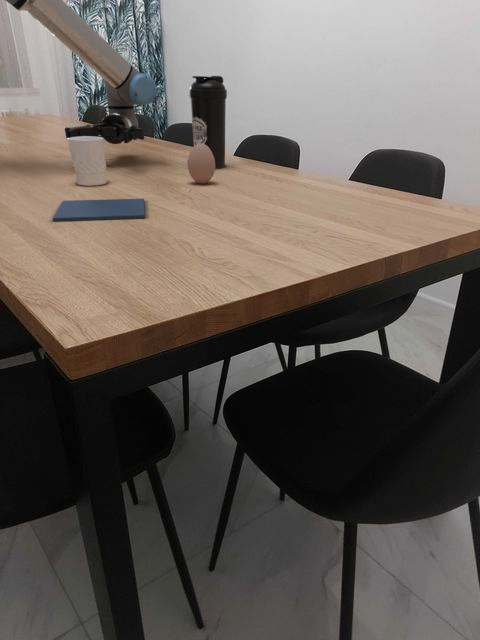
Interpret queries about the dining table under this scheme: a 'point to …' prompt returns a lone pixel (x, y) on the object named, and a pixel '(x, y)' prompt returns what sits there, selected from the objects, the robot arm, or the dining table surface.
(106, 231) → the dining table surface
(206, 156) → the egg
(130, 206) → the glassware mat
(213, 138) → the water bottle
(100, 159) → the white cup
